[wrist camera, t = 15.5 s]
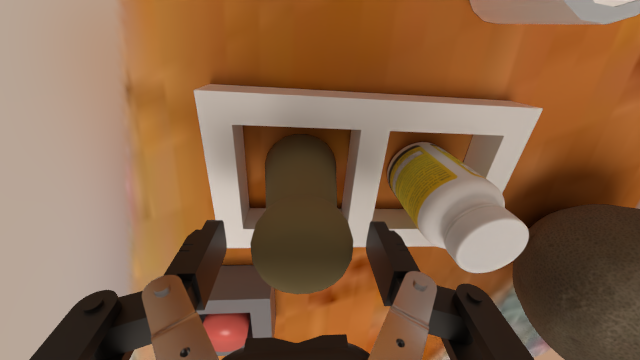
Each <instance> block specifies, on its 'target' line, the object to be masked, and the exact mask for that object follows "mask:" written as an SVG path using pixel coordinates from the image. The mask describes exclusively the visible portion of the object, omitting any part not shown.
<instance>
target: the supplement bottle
mask: <svg viewBox="0 0 640 360" xmlns="http://www.w3.org/2000/svg"><path fill="white" fill-rule="evenodd" d="M387 179H388V183H389V186H390V188H391V190H392V191H393V193H394V194H395V195H396V197H397V198H398V200H399V201H400V203H401V204H402V206H403V207H404V209H405V210H406V212H407V213H408V215H409V216H410V218H411V219H412V221H413V222H414V224H415V225H416V227H417V228H418V230H419V231H420V232H421V234H422V235H423V236H424V237H425V238H426V240H428V241H429V242H430V243H431V244H433V245H435V246H437V247H440V248H444V249H446V250H447V252H448V253H449V254H450V255H451V257H452V258H453V259H454V261H455V262H456V263H457V264H458V266H459V267H460V268H462V269H463V270H465V271H467V272H471V273H486V272H491V271H494V270H497V269H499V268H502V267H504V266H505V265H507V264H509V263H510V262H512V261H513V260H514V259H516V258H517V257H518V256H519V255H520V254H521V252H522V251H523V250H524V248H525V247H526V245H527V242H528V239H529V231H528V228H527V226H526V225H525V224H524V223H523V222H522V221H521V220H520V219H518V218H517V217H516V216H515V215H513V214H512V213H511V212H509V211H508V210H507V209H505V201H504V197H503V195H502V193H501V191H500V190H499V189H498V188H497V187H496V186H495V185H494V184H493V183H491V182H490V181H489V180H487V179H486V178H484V177H483V176H481V175H480V174H478V173H477V172H475V171H474V170H473V169H471V168H470V167H468V166H467V165H465V164H464V163H463V162H461V161H460V160H458V159H457V158H455V157H454V156H452V155H451V154H450V153H448V152H447V151H445V150H444V149H442V148H441V147H439V146H437V145H435V144H433V143H429V142H418V143H414V144H411V145H408V146H406V147H405V148H403V149H402V150H400V151H399V152H398V153H397V154H396V155H395V156H394V157H393V159H392V160H391V162H390V164H389V167H388V171H387Z"/></svg>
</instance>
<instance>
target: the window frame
mask: <svg viewBox="0 0 640 360" xmlns="http://www.w3.org/2000/svg"><path fill="white" fill-rule="evenodd" d="M194 95H195V101H196V107H197V113H198V119H199V125H200V131H201V136H202V142H203V148H204V154H205V160H206V166H207V172H208V178H209V184H210V189H211V195H212V201H213V207H214V213H215V219H216V220H223V222H224V228H225V235H226V241H227V248H251V245H250V243H251V239H252V235H253V232H254V229H255V225H256V223H257V221H258V220H259V218H260V217H261V216H262V215H263V213H264V212H265V211H266V208H250V206H249V195H248V183H247V172H246V160H245V149H244V137H243V126H242V125H253V126H278V127H303V128H328V129H351V137H350V145H349V153H348V161H347V168H346V176H345V184H344V192H343V200H342V208H341V209H338V210H339V211H340V212H341V213H342V215H343V216H344V217H345V218H346V220H347V221H348V224H349V227H350V230H351V234H352V237H353V247H366V240H367V235H368V230H369V225H370V222H371V221H384V222H385V223H386V225H387V227H388V229H389V230H394V231H395V232H396V233H397V234H399V235H400V236H401V237H402V239H403V241H404V243H405V245H406V247H411V246H435V245H433V244H431V243H430V242H429V241H428V240H426V238H425V237H424V236H423V235H422V234H421V232H420V231H419V230H418V228H417V227H416V225H415V224H414V222H413V221H412V219H411V218H410V216H409V215H408V213H407V212H406V210H405V209H374V208H375V203H376V198H377V193H378V188H379V184H380V179H381V174H382V169H383V164H384V159H385V154H386V149H387V144H388V139H389V134H390V131H402V132H427V133H452V134H474V135H473V137H472V140H471V143H470V145H469V148H468V151H467V154H466V156H465V159H464V162H463V163H464V164H465V165H467V166H468V167H470V168H471V169H473V170H474V171H475V172H477V173H478V174H480V175H481V176H483V177H484V178H486V179H487V180H489V181H490V182H491V183H493V184H494V185H495V186H496V187H497V188H498V189H499V190H500V191H501V193H503V191H504V189H505V187H506V185H507V183H508V181H509V178H510V176H511V174H512V172H513V170H514V168H515V166H516V164H517V162H518V160H519V158H520V156H521V154H522V151H523V149H524V147H525V145H526V143H527V141H528V139H529V137H530V135H531V133H532V131H533V129H534V127H535V124H536V122H537V120H538V118H539V116H540V114H541V112H542V110H543V108H539V107H534V106H530V105H526V104H522V103H517V102H513V101H506V100H488V99H471V98H453V97H435V96H417V95H399V94H381V93H363V92H345V91H328V90H310V89H292V88H274V87H256V86H238V85H220V84H208V85H206V86H203V87H200V88H198V89H195V90H194Z"/></svg>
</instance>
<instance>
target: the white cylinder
mask: <svg viewBox="0 0 640 360" xmlns="http://www.w3.org/2000/svg"><path fill="white" fill-rule="evenodd" d="M469 1H470V4H471V6H472V9H473V12H474V13H476V14H477V15H478V16H479V17H480V18H481V19H482V20H483V21H485V22H490V23H496V24H609V23H612V22H616V21H619V20H623V19H626V18H629V17H633V16H636V15H638V14H639V13H640V0H469Z"/></svg>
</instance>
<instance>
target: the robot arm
mask: <svg viewBox="0 0 640 360" xmlns="http://www.w3.org/2000/svg"><path fill="white" fill-rule="evenodd" d="M226 249H227V241H226V235H225V228H224V222H223V220H207V221H206V223H205V224H204V226H203V228H202V230H195V231H194V232H192V233H191V234H190V235H189V236H188V237H187V238H186V240H185V241H184V243H183V246H181V248H180V250H179V252H178V253H177V254H176V256H175V258H174V259H173V261H172V262H171V264H170V266H169V267H168V269H167V271H166V272H165V274H164V275H163V276H161V277H159V278H157V279H155V280H153V281H152V282H150V283H149V284H148V285H147V286H146V287H145V288H144V290H143V291H141V292H137V293H133V294H130V295H126V296H122V297H118V296H117V294H116V293H115V292H114V291H111V290H103V291H99V292H95V293H93V294H90V295H89V296H86V297H85V298H83V299H82V300H80V301H79V302H78V303H77V304H76V305H75V306H74V307H73V308H72V309H71V310H70V311H69V313H68V314H67V315H66V316H65V318H64V319H63V320H62V321H61V322H60V323H59V325H58V326H57V327H56V328H55V329H54V331H53V332H52V333H51V334H50V335H49V337H48V338H47V339H46V340H45V341H44V343H43V344H42V345H41V346H40V348H39V349H38V350H37V351H36V352H35V354H34V355H33V356H32V357H31V358H30V360H129V359H130V357H131V355H132V353H133V351H134V350H135V349H137V348H140V347H143V346H146V345H149V344H152V345H153V349H154V353H155V357H156V360H219V358H218V356H217V354H216V352H215V350H214V347H213V345H212V343H211V341H210V339H209V336H208V334H207V332H206V330H205V328H204V325H203V323H202V321H201V319H200V317H199V315H198V313H197V311H199V310H205V307H206V305H207V302H208V299H209V297H210V294H211V291H212V289H213V286H214V283H215V281H216V278H217V275H218V273H219V270H220V267H221V265H222V262H223V259H224V257H225V254H226ZM366 252H367V256H368V259H369V262H370V265H371V268H372V271H373V274H374V277H375V280H376V283H377V286H378V289H379V292H380V294H381V297H382V300H383V303H384V306H391V307H390V309H389V312H388V314H387V316H386V319H385V321H384V323H383V326H382V328H381V330H380V333H379V335H378V337H377V340H376V342H375V344H374V347H373V349H372V351H371V354H369V353H368V352H366V351H365V350H363V349H362V348H360V347H358V346H356V345H353V344H350V343H348V342H347V336H346V334H344V335H322V336H319V337H316V338H313V339H309V340H306V341H303V342H300V343H293V342H289V341H285V340H280V339H276V338H272V337H267V338H246V341H245V346H244V347H243V348H240V349H238V350H236V351H234V352H232V353H230V354H229V355H227V356H226V357H224V358H223V359H222V360H422V356H423V351H424V347H425V343H426V339H427V335H428V334H431V335H435V336H438V337H441V339H442V341H443V344H444V346H445V348H446V350H447V353H448V355H449V357H450V360H534V358H533V357H532V356H531V354H530V353H529V351H528V350H527V349H526V347H525V346H524V344H523V343H522V342H521V340H520V339H519V337H518V336H517V335H516V333H515V332H514V330H513V329H512V328H511V326H510V325H509V323H508V322H507V321H506V319H505V318H504V316H503V315H502V314H501V312H500V311H499V309H498V308H497V307H496V305H495V304H494V302H493V301H492V300H491V298H490V297H489V296H488V295H487V294H486V293H485V292H484V291H483V290H481V289H480V288H478V287H476V286H474V285H471V284H460V285H459V286H458V287H457V289H456V290H452V289H448V288H444V287H440V286H437V285H436V284H435V282H434V281H433V280H432V279H431V278H430V277H429V276H427V275H426V274H424V273H421V272H420V270H419V268H418V266H417V265H416V263H415V261H414V259H413V257H412V256H411V254H410V252H409V251H408V248H407V247H406V245H405V243H404V241H403V239H402V237H401V236H400V235H399V234H397V233H396V232H395V231H394V230H389V229H388V227H387V225H386V223H385V222H384V221H371V222H370V225H369V230H368V235H367V240H366Z"/></svg>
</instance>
